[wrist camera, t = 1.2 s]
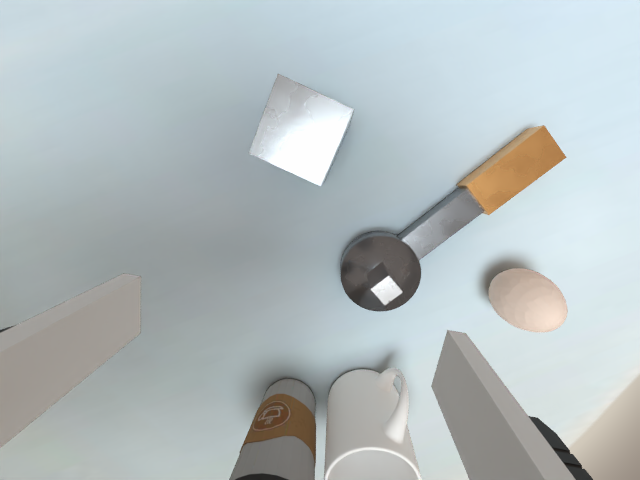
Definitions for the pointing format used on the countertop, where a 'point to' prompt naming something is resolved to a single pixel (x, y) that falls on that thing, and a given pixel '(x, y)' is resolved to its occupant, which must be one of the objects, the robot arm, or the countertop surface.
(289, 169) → the grey rectangular block
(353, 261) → the ratchet
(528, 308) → the egg
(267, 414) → the coffee cup
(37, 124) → the countertop surface
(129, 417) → the countertop surface
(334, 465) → the mug
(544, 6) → the countertop surface
